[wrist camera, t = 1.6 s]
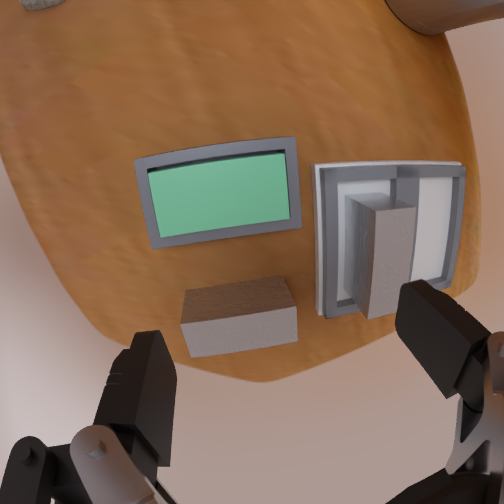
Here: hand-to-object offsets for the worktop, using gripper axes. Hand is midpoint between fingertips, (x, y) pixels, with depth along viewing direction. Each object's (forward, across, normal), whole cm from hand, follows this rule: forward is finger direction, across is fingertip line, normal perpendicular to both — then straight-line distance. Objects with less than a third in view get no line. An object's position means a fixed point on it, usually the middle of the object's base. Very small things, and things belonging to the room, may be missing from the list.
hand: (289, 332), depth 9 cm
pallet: (+19, -16, +6) cm, 25 cm away
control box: (+19, +2, -2) cm, 19 cm away
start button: (+15, +2, -2) cm, 16 cm away
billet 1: (+19, +2, +10) cm, 22 cm away
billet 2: (+18, -11, +6) cm, 22 cm away
